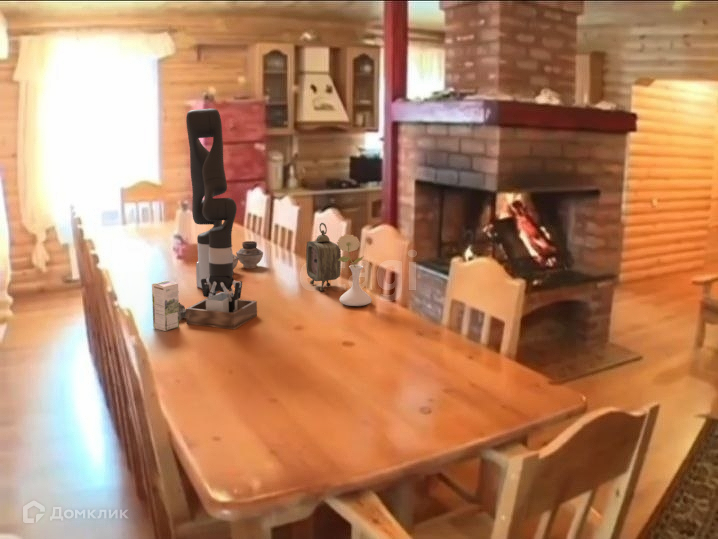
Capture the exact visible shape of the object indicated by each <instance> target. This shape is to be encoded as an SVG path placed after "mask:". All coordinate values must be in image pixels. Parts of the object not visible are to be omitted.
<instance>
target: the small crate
mask: <svg viewBox="0 0 718 539" xmlns="http://www.w3.org/2000/svg"><path fill="white" fill-rule="evenodd" d="M207 298H208V297H207ZM205 299H206V298H205ZM206 310H211V311H220V312H229V300H228V297H227V296H226V295H225V293H224V292H222V291H219V292H217V293H216V295H214V296H213V297H210V298H208V299H206ZM237 310H238V307H237V300H235V310H233V312H231V313H234V312H235V311H237ZM229 313H230V312H229Z"/></svg>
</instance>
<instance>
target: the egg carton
mask: <svg viewBox="0 0 718 539" xmlns="http://www.w3.org/2000/svg"><path fill="white" fill-rule="evenodd" d="M182 319H186V308H185V305H184V304H181V302H179V321H182Z"/></svg>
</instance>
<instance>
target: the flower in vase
mask: <svg viewBox="0 0 718 539" xmlns="http://www.w3.org/2000/svg"><path fill="white" fill-rule="evenodd" d="M336 244H337V245H338V247H339V249H340V251H344V252H348V253H347V254H348V256H344V255H341V258H339V259H338V261H341V263H342V262H343V263H347V262H348V261H349V260H350V262H351V263H352V264H350V265H349V266H348V267H349V269H350V271H351V274H352V283H351V284H352V285H351V287H350V288H349V289H347V291H345V292H344V293H343V294H342V295H341V296H339V302H340V303H341V304H343V305H345V306H350V307H362V306H366V305H369V304H371V302H372V300H373V299H372V297H371V295H369V294H368V293H367V292H366V291H365V290H363V289H362V287H361V286H360V276H361V275H360V274H361V271H362V270H363V268H364V266H363V265H361V264H356V263H360V262H361V261H362V260H363V258H364V255H363V256H360V257H358V258H355V260H352V258H351V257H350V252H354V251H357V250H358V248H360V246H361V242H360V240H359V238H358V236H355V235H354V234H343V235H341V236H340V237H339V238H338V240H337V242H336Z"/></svg>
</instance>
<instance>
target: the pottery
mask: <svg viewBox="0 0 718 539" xmlns="http://www.w3.org/2000/svg"><path fill="white" fill-rule="evenodd" d="M241 244H242V246H241V247H242V248H240V249H238V250H237V251H236V254H234V253H233V274H235V271H234V270H235V268H236V267H237V265H238V263H239V262H240V263H241V264H242V267H243V268H244V269H256V268H257V266H258V264H260V262H261V260H262V258H263V257H264V251H262V250H261V249H259V248H257V246H258V244H257V241H253V240H246V241H243V242H241Z"/></svg>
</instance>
